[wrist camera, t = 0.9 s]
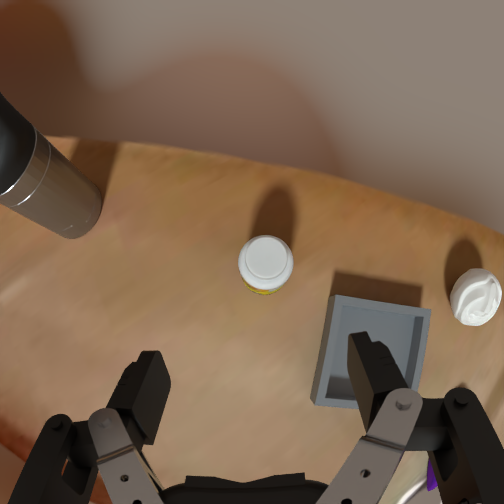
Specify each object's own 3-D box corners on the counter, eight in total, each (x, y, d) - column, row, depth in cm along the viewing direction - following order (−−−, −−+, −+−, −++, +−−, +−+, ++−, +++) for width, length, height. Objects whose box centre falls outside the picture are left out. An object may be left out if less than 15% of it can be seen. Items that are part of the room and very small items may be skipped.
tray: (309, 398, 36) (314, 405, 32) (329, 297, 38) (335, 294, 35) (401, 404, 35) (412, 410, 31) (418, 310, 38) (431, 309, 34)
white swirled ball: (435, 319, 37) (467, 317, 30) (444, 267, 39) (475, 256, 31) (474, 329, 37) (507, 328, 29) (482, 280, 38) (514, 272, 31)
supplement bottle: (233, 264, 39) (225, 245, 29) (272, 243, 40) (277, 217, 30) (255, 304, 38) (254, 297, 28) (294, 282, 39) (307, 268, 29)
